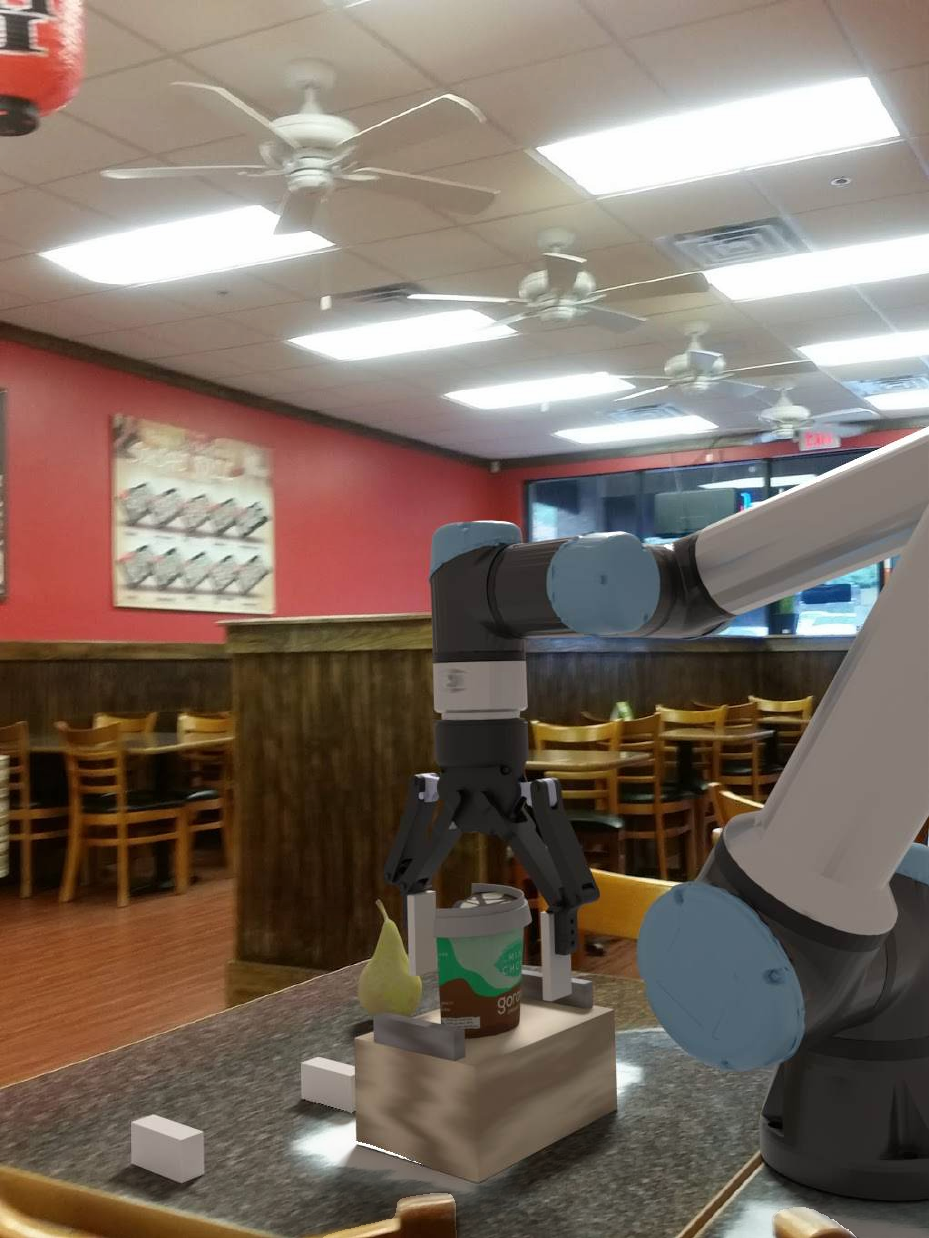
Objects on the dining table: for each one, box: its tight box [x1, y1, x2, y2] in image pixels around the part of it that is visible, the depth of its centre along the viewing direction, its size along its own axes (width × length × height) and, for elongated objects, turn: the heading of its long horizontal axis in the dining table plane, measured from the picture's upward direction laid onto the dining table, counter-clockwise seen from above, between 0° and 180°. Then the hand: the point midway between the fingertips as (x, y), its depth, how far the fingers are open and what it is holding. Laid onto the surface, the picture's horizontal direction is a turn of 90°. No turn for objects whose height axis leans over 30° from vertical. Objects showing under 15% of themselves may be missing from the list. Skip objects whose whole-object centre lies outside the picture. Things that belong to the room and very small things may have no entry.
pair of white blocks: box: [130, 1056, 356, 1184], centre depth 95 cm, size 6×19×3 cm, turn 140°
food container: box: [434, 882, 533, 1039], centre depth 96 cm, size 12×6×10 cm, turn 165°
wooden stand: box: [353, 969, 618, 1184], centre depth 96 cm, size 12×18×10 cm, turn 140°
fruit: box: [357, 899, 423, 1018], centre depth 126 cm, size 7×8×12 cm
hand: (487, 984), depth 96 cm, fingers open, 13 cm apart
